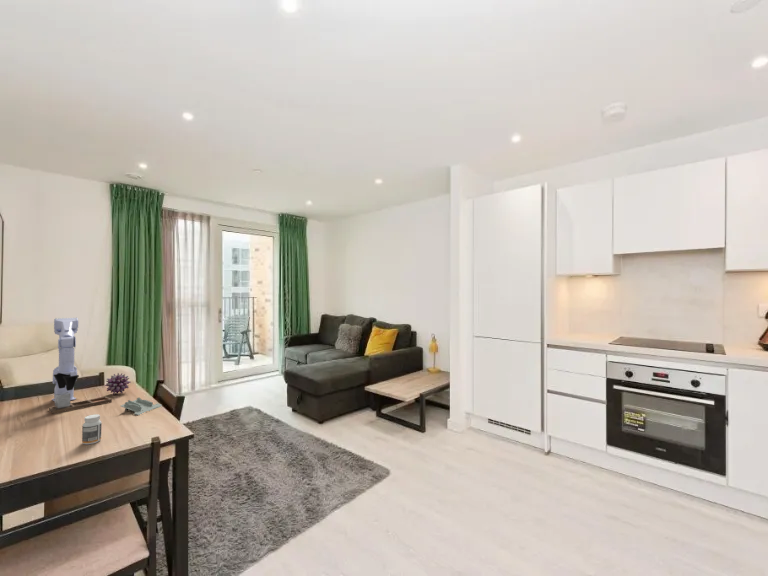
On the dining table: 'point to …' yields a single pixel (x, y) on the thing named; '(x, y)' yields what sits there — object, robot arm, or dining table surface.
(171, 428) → the dining table surface
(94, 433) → the pill bottle
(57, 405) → the square peg
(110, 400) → the rail
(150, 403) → the metal bracket
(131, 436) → the dining table surface
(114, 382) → the spiky ball
